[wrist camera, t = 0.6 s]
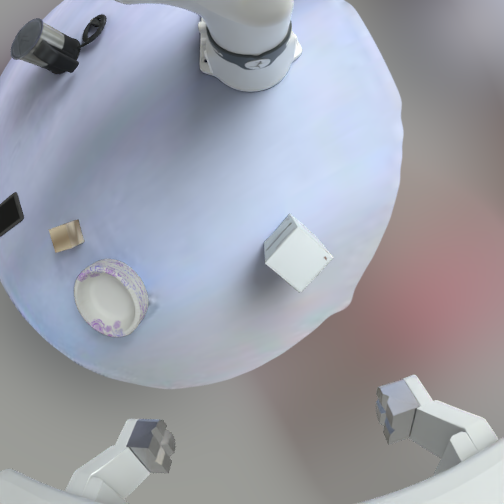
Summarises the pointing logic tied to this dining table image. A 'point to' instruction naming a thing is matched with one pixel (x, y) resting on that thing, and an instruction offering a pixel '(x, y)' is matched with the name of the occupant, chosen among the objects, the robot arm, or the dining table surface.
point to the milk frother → (51, 45)
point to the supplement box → (295, 253)
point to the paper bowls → (111, 297)
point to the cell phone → (10, 213)
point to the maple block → (66, 236)
